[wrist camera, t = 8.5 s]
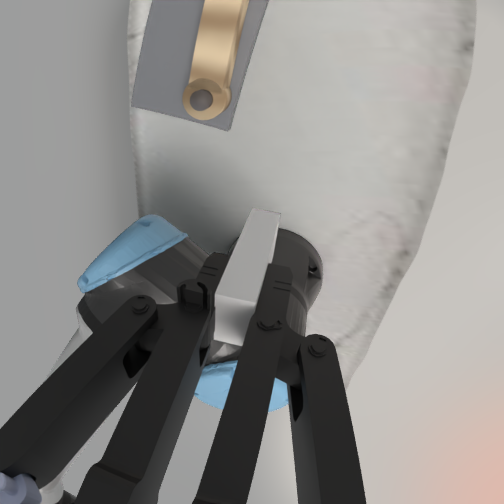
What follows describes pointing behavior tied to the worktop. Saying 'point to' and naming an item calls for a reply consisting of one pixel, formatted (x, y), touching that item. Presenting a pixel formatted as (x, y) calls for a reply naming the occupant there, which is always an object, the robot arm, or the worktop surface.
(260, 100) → the worktop surface
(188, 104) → the brass link
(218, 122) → the board
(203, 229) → the worktop surface
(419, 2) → the worktop surface
